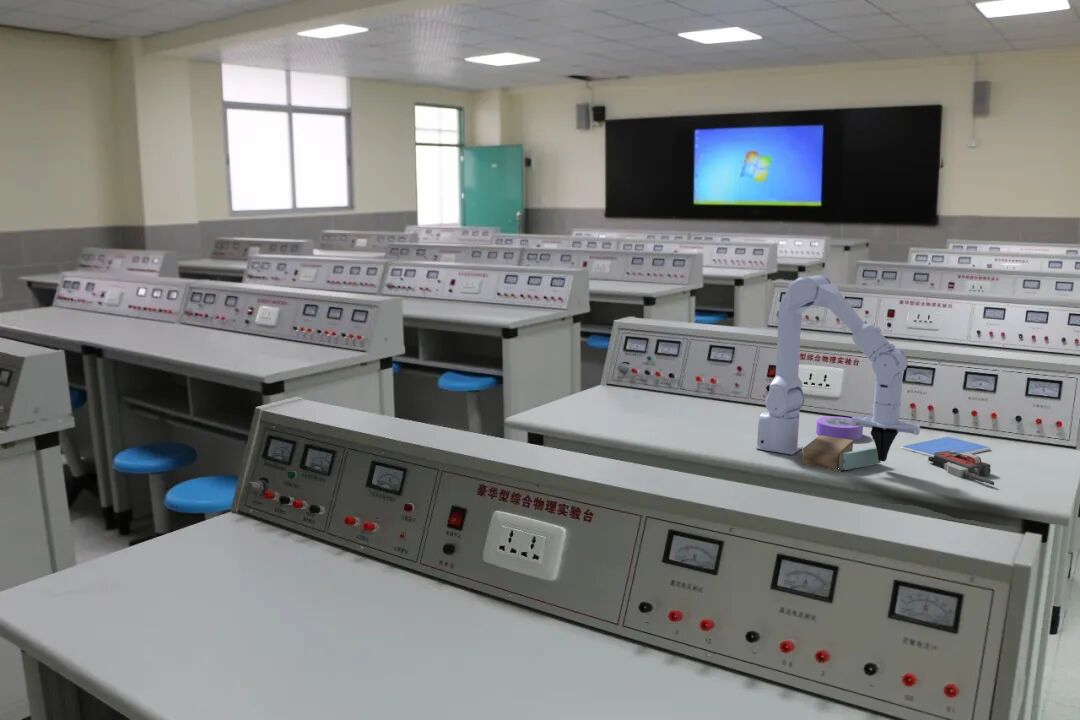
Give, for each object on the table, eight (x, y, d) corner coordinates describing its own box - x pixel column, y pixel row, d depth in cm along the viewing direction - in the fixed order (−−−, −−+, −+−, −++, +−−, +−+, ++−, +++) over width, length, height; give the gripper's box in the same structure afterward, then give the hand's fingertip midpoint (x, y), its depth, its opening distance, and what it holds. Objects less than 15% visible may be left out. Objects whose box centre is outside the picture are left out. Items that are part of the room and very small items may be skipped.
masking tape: (854, 443, 226) (855, 429, 225) (809, 436, 233) (810, 422, 232) (867, 434, 235) (869, 420, 235) (824, 427, 242) (825, 414, 241)
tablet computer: (942, 463, 211) (943, 457, 211) (898, 450, 222) (898, 445, 221) (991, 452, 221) (992, 447, 220) (947, 440, 231) (947, 435, 231)
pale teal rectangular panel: (843, 470, 201) (844, 454, 201) (839, 469, 202) (840, 453, 201) (880, 462, 207) (881, 447, 207) (877, 461, 208) (878, 446, 208)
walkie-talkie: (920, 464, 209) (989, 490, 190) (921, 446, 208) (991, 470, 189) (948, 461, 212) (1019, 486, 193) (950, 443, 211) (1021, 466, 193)
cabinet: (801, 465, 206) (802, 447, 205) (818, 450, 218) (820, 433, 218) (841, 472, 201) (842, 453, 200) (857, 456, 213) (858, 439, 213)
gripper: (849, 401, 201) (845, 458, 203) (917, 410, 193) (912, 469, 195) (857, 396, 206) (853, 451, 209) (923, 404, 199) (918, 462, 201)
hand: (882, 460), depth 202 cm, fingers closed
